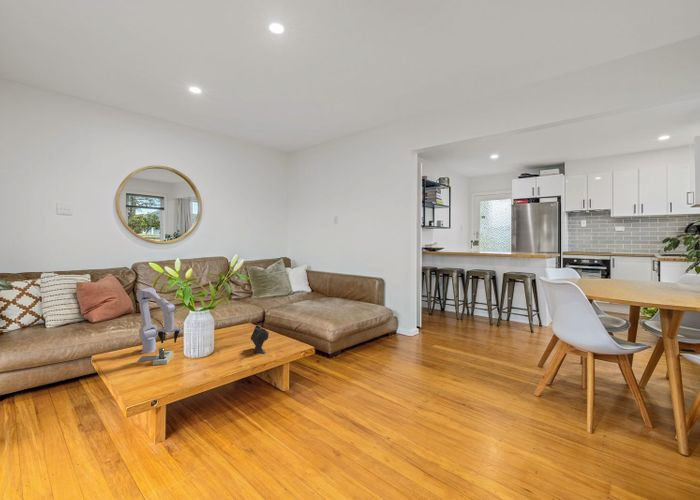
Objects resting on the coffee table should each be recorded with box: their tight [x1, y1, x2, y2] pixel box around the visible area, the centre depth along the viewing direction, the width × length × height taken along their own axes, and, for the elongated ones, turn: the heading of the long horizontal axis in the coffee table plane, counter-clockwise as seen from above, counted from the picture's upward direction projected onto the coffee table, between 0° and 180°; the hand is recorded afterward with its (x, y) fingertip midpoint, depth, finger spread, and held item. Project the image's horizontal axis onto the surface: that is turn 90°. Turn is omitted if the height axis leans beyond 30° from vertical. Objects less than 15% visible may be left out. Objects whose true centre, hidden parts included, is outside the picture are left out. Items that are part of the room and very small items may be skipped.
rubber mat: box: [136, 354, 158, 363], centre depth 216 cm, size 10×10×1 cm
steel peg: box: [158, 347, 165, 359], centre depth 211 cm, size 3×3×9 cm
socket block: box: [152, 350, 174, 366], centre depth 215 cm, size 16×8×3 cm, turn 15°
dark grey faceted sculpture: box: [250, 324, 270, 355], centre depth 239 cm, size 14×15×18 cm
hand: (168, 342), depth 220 cm, fingers open, 7 cm apart
